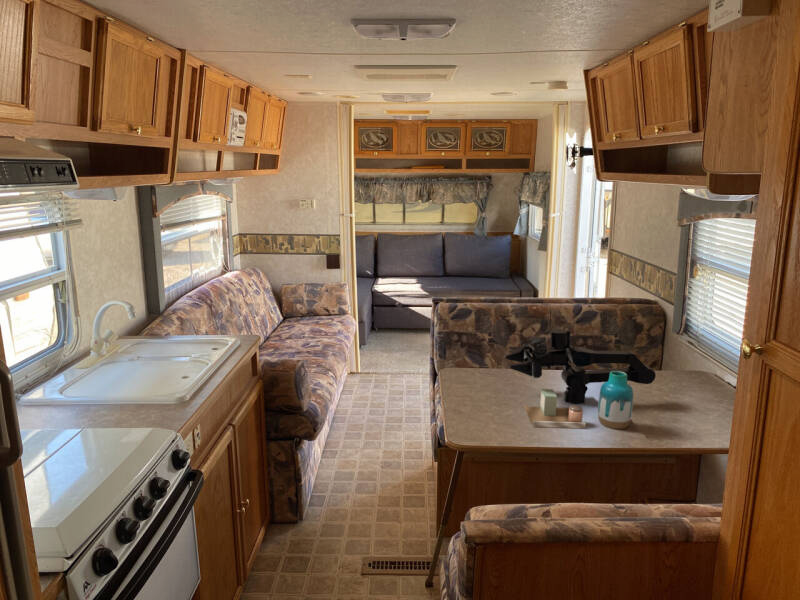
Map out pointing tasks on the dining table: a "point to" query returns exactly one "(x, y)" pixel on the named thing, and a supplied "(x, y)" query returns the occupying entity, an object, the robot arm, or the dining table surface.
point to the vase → (615, 401)
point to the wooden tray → (552, 418)
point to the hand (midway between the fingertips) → (507, 362)
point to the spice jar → (575, 413)
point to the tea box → (548, 402)
